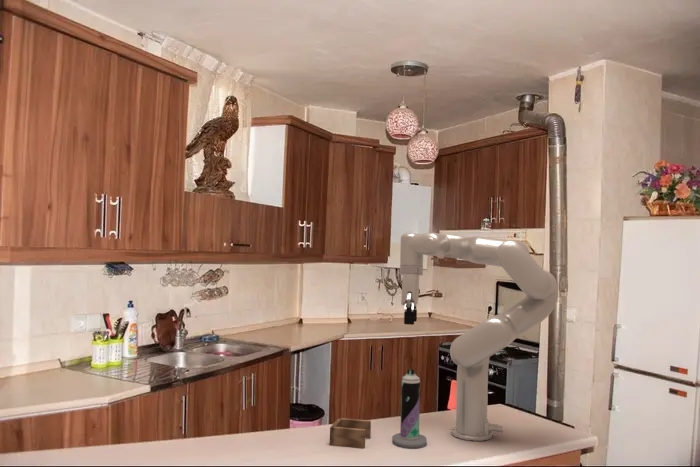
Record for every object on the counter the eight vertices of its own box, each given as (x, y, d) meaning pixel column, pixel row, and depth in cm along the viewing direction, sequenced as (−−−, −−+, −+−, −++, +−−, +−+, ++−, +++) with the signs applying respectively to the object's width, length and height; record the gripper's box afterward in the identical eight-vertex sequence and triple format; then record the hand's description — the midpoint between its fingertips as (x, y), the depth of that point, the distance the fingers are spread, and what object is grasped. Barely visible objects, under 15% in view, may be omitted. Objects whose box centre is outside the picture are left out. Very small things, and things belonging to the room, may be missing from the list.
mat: (427, 439, 170) (427, 434, 170) (425, 450, 160) (425, 444, 160) (394, 436, 172) (394, 431, 172) (390, 446, 162) (390, 441, 162)
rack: (370, 437, 170) (370, 420, 171) (364, 448, 160) (364, 430, 160) (337, 434, 172) (338, 417, 173) (329, 445, 162) (330, 427, 162)
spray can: (404, 441, 163) (405, 371, 163) (397, 435, 168) (398, 367, 169) (421, 440, 164) (423, 370, 165) (414, 434, 169) (415, 367, 170)
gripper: (402, 270, 195) (401, 319, 194) (397, 270, 178) (396, 325, 177) (424, 270, 194) (423, 320, 193) (420, 271, 177) (419, 326, 176)
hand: (410, 322), depth 185 cm, fingers open, 9 cm apart
